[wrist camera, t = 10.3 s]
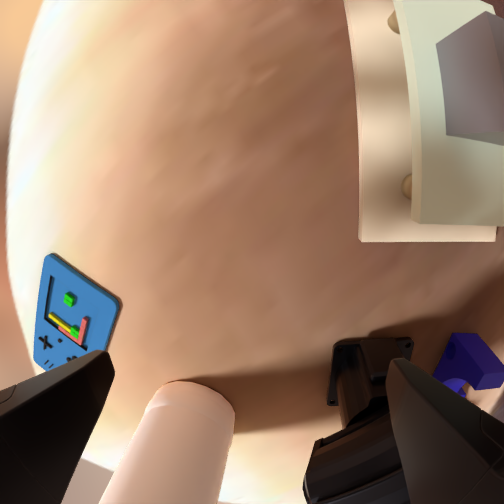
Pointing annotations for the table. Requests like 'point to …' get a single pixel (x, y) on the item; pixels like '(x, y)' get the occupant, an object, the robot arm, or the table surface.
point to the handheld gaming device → (70, 315)
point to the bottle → (176, 449)
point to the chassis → (388, 133)
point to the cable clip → (469, 364)
